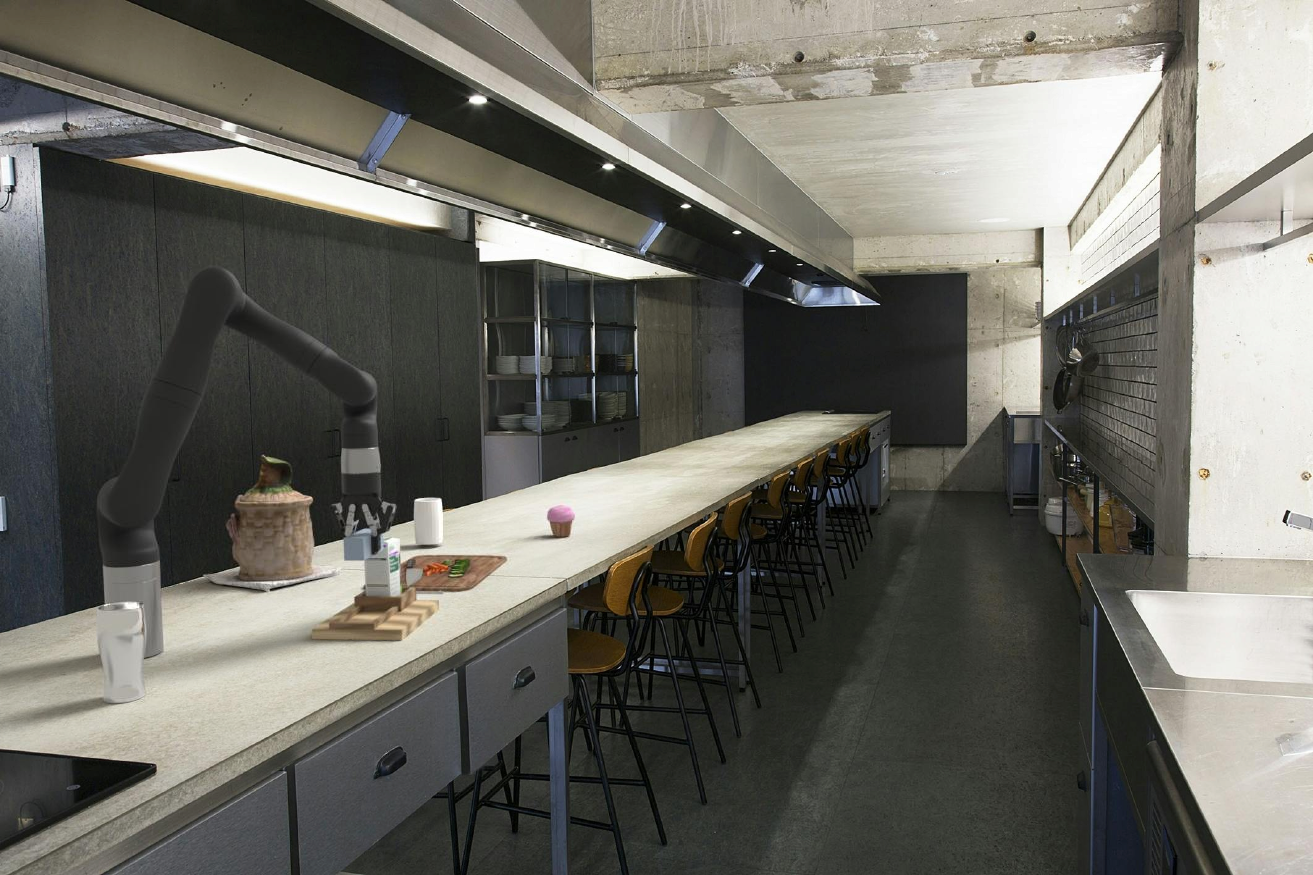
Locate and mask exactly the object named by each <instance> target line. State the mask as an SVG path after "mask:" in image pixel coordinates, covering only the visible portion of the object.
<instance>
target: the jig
mask: <svg viewBox="0 0 1313 875" xmlns="http://www.w3.org/2000/svg"><path fill="white" fill-rule="evenodd" d="M353 601H354V602H353V603H352V604H350V605H348V606H346V607H345V608H343V609H342V610H340V611H339V612H337V613H336V614H334V615H332V616H330V617H329V618H328V619H326V620H324V621H323V622H320V623H319V624H318V625H316V626H314V627H313V628H311V637H312V640H349V639H350V640H351V639H352V641H353V640H354V639H355V640H357V641H359V640H361V641H363V640H365V641H366V640H368V641H369V640H370V641H371V640H372V641H373V640H374V641H403V640H404V639H405V638H406V637H408V636H409V635H410V634H411V633H412V632H414V631H415V630H416V629H417V628H418V627H420V626H421V625H422V624H423V623H424V622H426V621H427V620H429V618H431V616H433V615H434V614H436V613H437V612H438V611H439V610H440V602H439V600H437V599H435V600H432V599H431V600H430V599H429V600H428V599H425V600H424V599H422V600H421V599H417V594H416V587H402V594H400V595H399V596H366V590H365V589H364V591H362V592H360V593H359V594H357V595H356V596H353ZM413 630H414V631H413ZM407 635H408V636H407Z"/></svg>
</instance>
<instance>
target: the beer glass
mask: <svg viewBox="0 0 1313 875" xmlns="http://www.w3.org/2000/svg"><path fill="white" fill-rule="evenodd" d="M96 642H97V643H96V644H97V647H98V652H99V656H100V661H101V664H102V669H103V672H104V679H105V680H104V691H103V697H102V701H103V702H104V703H107V704H113V705H114V704H125V703H129V702H130V703H131V702H134V701H138V700H140V699H142V698H145V696H146V694H147V689H146V686H145V682H144V681H145V680H144V676H143V666H144V659H145V658H144V653H145V646H146V619H145V612H144V603H143V602H139V601H123V602H115V603H109V604H105V603H104V604H103V605H100V606H97V608H96Z"/></svg>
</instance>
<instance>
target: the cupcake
mask: <svg viewBox="0 0 1313 875" xmlns="http://www.w3.org/2000/svg"><path fill="white" fill-rule="evenodd" d="M575 518H576V513H575V512H574V511H573V510H572V507H571V506H568V505H563V504H560V505H556V506H552V507H550V509H549V510H548V511H547V514H546V519H547V521H548V522H549V525H550V529H551V532H552V535H553V536H555V537H557V538H562V537H569V536H571V532H572V524H573V521H574V520H575Z"/></svg>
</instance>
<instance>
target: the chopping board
mask: <svg viewBox="0 0 1313 875" xmlns="http://www.w3.org/2000/svg"><path fill="white" fill-rule="evenodd" d="M507 561H508V557H507V556H505V555H493V554H421V555H416V556H413V557H412V556H411V557H410V558H409V559H407V560H405V561H403V562H402V563H401V581H402V587H416V595H420V594H422V595H444V594H445V592H446V593H447V592H451V593H452V592H455V593H456V592H459V593H460V592H468V591H471V590H473V589H474V588H475V587H477V586H478V585H479V584H481V583H482V582H483V581H484V580H485V579H487V578H488V577H489V576H491V574H492V573H494V572H495V571H496V570H498V569H499V568H500V567H501V566H502V565H503V564H505V563H506V562H507ZM363 589H364V591H365V590H366V586H365V584H364V585H363Z"/></svg>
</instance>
